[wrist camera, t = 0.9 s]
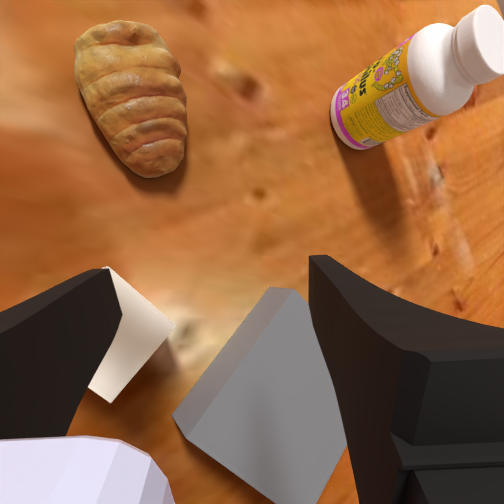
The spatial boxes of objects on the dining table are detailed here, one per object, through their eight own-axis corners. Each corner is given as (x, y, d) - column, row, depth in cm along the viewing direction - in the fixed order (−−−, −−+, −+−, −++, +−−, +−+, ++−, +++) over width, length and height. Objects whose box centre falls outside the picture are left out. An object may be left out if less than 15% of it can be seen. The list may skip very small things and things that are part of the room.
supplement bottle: (348, 74, 33) (489, -30, 22) (384, 125, 35) (529, 55, 24) (315, 113, 31) (454, 18, 19) (355, 165, 33) (501, 108, 21)
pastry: (199, 171, 25) (217, 155, 22) (108, 189, 22) (112, 174, 19) (162, 49, 24) (175, 12, 21) (62, 49, 21) (58, 7, 18)
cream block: (104, 375, 21) (110, 403, 17) (39, 328, 19) (26, 344, 15) (158, 315, 23) (176, 325, 18) (102, 267, 21) (107, 266, 17)
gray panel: (275, 491, 27) (304, 525, 23) (170, 413, 23) (186, 438, 20) (346, 369, 31) (380, 381, 28) (267, 286, 27) (294, 289, 24)
